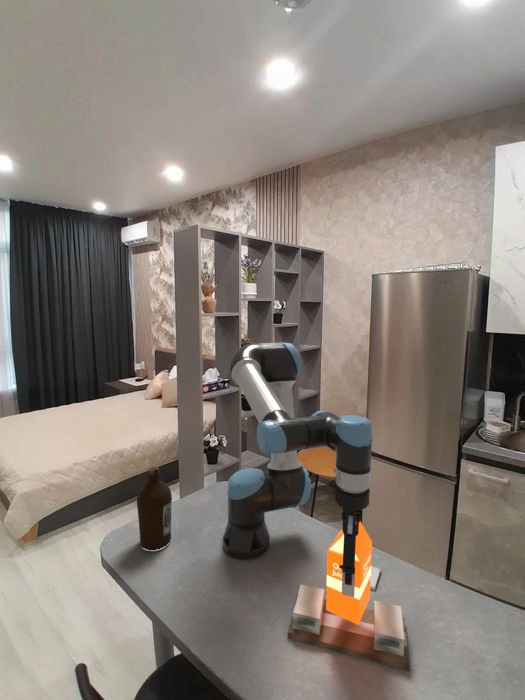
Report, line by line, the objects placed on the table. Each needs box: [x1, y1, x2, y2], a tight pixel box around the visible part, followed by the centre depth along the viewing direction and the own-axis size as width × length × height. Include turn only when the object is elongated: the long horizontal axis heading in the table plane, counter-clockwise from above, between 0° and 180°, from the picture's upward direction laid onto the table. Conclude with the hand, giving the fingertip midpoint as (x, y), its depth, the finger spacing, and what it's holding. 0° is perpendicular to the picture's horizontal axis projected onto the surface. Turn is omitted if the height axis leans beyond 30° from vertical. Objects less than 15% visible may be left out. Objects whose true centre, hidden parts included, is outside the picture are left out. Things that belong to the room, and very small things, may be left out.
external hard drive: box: [370, 565, 382, 592], centre depth 104 cm, size 2×8×12 cm
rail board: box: [287, 584, 410, 671], centre depth 85 cm, size 26×12×6 cm, turn 74°
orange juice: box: [325, 521, 373, 625], centre depth 83 cm, size 8×9×20 cm
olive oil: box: [136, 466, 173, 550], centre depth 115 cm, size 11×11×25 cm
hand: (349, 577), depth 84 cm, fingers closed on orange juice, 10 cm apart
